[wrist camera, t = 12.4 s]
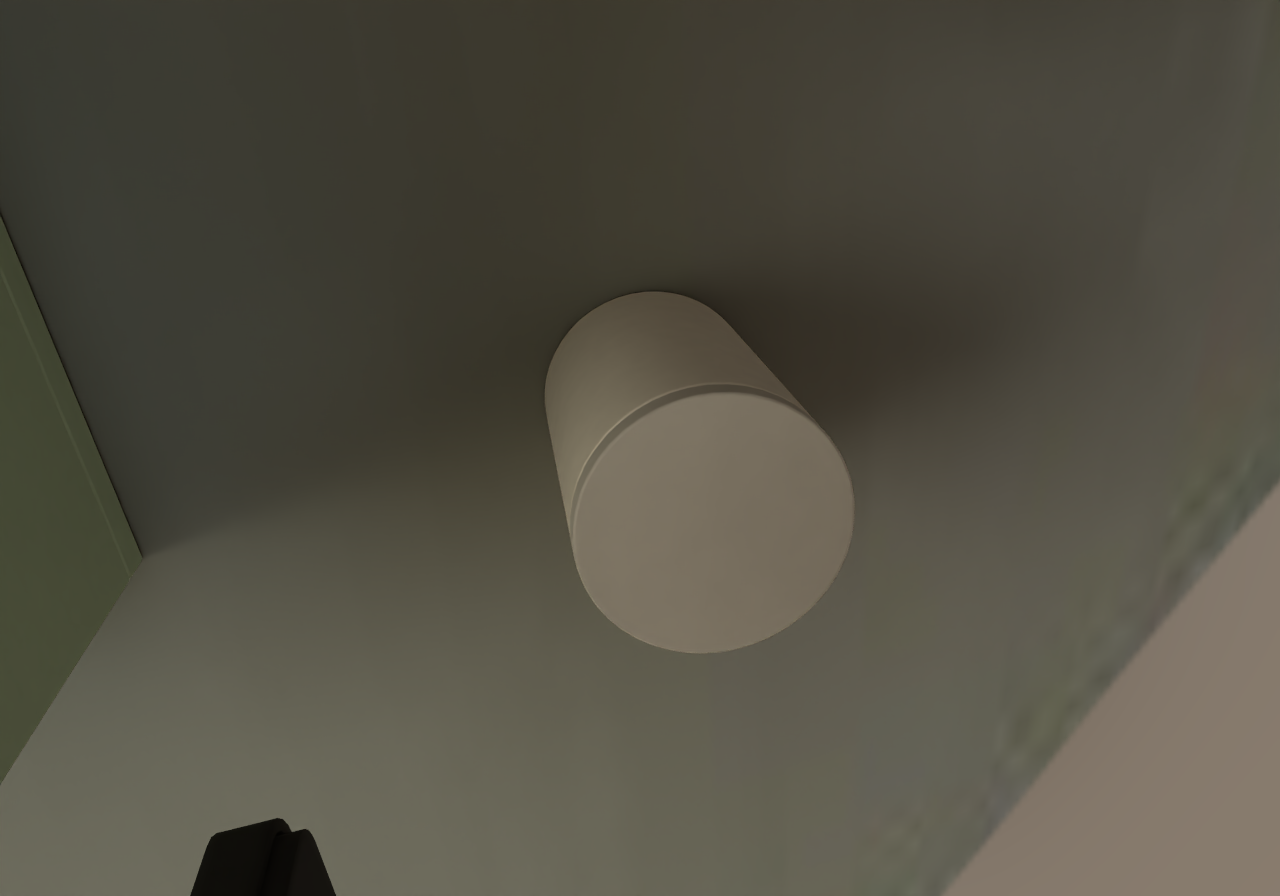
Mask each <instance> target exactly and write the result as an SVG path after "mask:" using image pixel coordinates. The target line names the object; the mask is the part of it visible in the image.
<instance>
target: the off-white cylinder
mask: <svg viewBox="0 0 1280 896" xmlns="http://www.w3.org/2000/svg"><path fill="white" fill-rule="evenodd" d="M545 409H546V415H547V421H548V426H549V431H550V436H551V441H552V447H553V452H554V457H555V462H556V467H557V472H558V477H559V483H560V488H561V493H562V498H563V503H564V508H565V513H566V518H567V524H568V529H569V534H570V539H571V544H572V549H573V554H574V559H575V563H576V567H577V570H578V573H579V576H580V579H581V581H582V583H583V585H584V587H585V589H586V591H587V593H588V594H589V596H590V597H591V599H592V600H593V602H594V603H595V605H596V606H597V607H598V608H599V609H600V610H601V611H602V613H603V614H604V615H605V616H606V617H607V618H608V619H609V620H610V621H612V622H613V623H614V624H615V625H617V626H618V627H619V628H620V629H622V630H623V631H625V632H627V633H628V634H630V635H632V636H633V637H635V638H637V639H639V640H641V641H644V642H646V643H648V644H650V645H653V646H657V647H660V648H663V649H667V650H672V651H678V652H684V653H716V652H724V651H729V650H735V649H739V648H742V647H745V646H749V645H752V644H755V643H757V642H760V641H762V640H764V639H767V638H769V637H771V636H773V635H775V634H777V633H778V632H780V631H782V630H784V629H785V628H787V627H788V626H790V625H791V624H792V623H794V622H795V621H797V620H798V619H799V618H801V617H802V616H803V615H804V614H805V613H806V612H807V611H809V610H810V609H811V608H812V607H813V606H814V605H815V604H816V603H817V602H818V600H819V599H820V598H821V597H822V596H823V595H824V594H825V592H826V591H827V589H828V588H829V587H830V585H831V584H832V582H833V581H834V579H835V578H836V576H837V574H838V572H839V570H840V568H841V566H842V565H843V562H844V560H845V557H846V555H847V552H848V549H849V546H850V542H851V538H852V534H853V528H854V518H855V500H854V492H853V486H852V481H851V477H850V475H849V472H848V469H847V466H846V463H845V461H844V459H843V457H842V456H841V454H840V452H839V450H838V448H837V447H836V445H835V444H834V443H833V441H832V440H831V438H830V437H829V436H828V435H827V433H826V432H825V431H824V430H823V429H822V428H821V427H820V426H819V424H818V423H817V422H816V421H815V420H814V419H813V418H812V417H811V416H810V414H809V413H808V412H807V411H806V410H805V409H804V408H803V407H802V405H801V404H800V403H799V402H798V401H797V400H796V399H795V398H794V397H793V395H792V394H791V393H790V392H789V391H788V390H787V389H786V388H785V386H784V385H783V384H782V383H781V382H780V381H779V380H778V379H777V378H776V376H775V375H774V374H773V373H772V372H771V371H770V370H769V369H768V367H767V366H766V365H765V364H764V363H763V362H762V361H761V360H760V359H759V357H758V356H757V355H756V354H755V353H754V352H753V351H752V350H751V348H750V347H749V346H748V345H747V344H746V343H745V342H744V341H743V340H742V338H741V337H740V336H739V335H738V334H737V333H736V332H735V331H734V329H733V328H732V327H731V326H730V325H729V324H728V323H727V322H726V321H725V320H724V319H723V318H722V317H721V316H720V315H719V314H717V313H716V312H715V311H713V310H712V309H711V308H709V307H707V306H706V305H704V304H702V303H700V302H699V301H696V300H694V299H691V298H689V297H686V296H682V295H678V294H674V293H667V292H640V293H633V294H629V295H625V296H622V297H618V298H615V299H613V300H611V301H608V302H606V303H604V304H602V305H600V306H599V307H597V308H595V309H594V310H592V311H591V312H589V313H588V314H587V315H585V316H584V317H583V318H582V319H580V320H579V321H578V322H577V323H576V324H575V325H574V326H573V327H572V328H571V329H570V331H569V332H568V333H567V334H566V336H565V337H564V338H563V340H562V341H561V343H560V345H559V346H558V348H557V350H556V352H555V354H554V356H553V358H552V361H551V363H550V366H549V370H548V374H547V377H546V385H545Z"/></svg>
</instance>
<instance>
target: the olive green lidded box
mask: <svg viewBox="0 0 1280 896" xmlns="http://www.w3.org/2000/svg"><path fill="white" fill-rule="evenodd" d="M141 561H142V556H141V554H140V551H139V549H138V547H137V544H136V542H135V539H134V537H133V535H132V532H131V530H130V527H129V525H128V522H127V520H126V518H125V515H124V513H123V510H122V508H121V506H120V503H119V501H118V498H117V496H116V494H115V491H114V489H113V486H112V484H111V481H110V479H109V477H108V474H107V472H106V469H105V467H104V465H103V462H102V460H101V457H100V455H99V453H98V450H97V448H96V445H95V443H94V440H93V438H92V436H91V433H90V431H89V428H88V426H87V424H86V421H85V419H84V416H83V414H82V411H81V409H80V407H79V404H78V402H77V399H76V397H75V395H74V392H73V390H72V387H71V385H70V383H69V380H68V378H67V375H66V373H65V370H64V368H63V366H62V363H61V361H60V358H59V356H58V354H57V351H56V349H55V346H54V344H53V342H52V339H51V337H50V334H49V332H48V329H47V327H46V325H45V322H44V320H43V317H42V315H41V313H40V310H39V308H38V305H37V303H36V301H35V298H34V296H33V293H32V291H31V288H30V286H29V284H28V281H27V279H26V276H25V274H24V272H23V269H22V267H21V264H20V262H19V260H18V257H17V255H16V252H15V250H14V247H13V245H12V243H11V240H10V238H9V235H8V233H7V231H6V228H5V226H4V223H3V221H2V219H1V216H0V784H1V782H2V781H3V779H4V778H5V776H6V775H7V773H8V771H9V770H10V768H11V767H12V765H13V763H14V762H15V760H16V759H17V757H18V756H19V754H20V752H21V751H22V749H23V748H24V746H25V745H26V743H27V741H28V740H29V738H30V737H31V735H32V734H33V732H34V730H35V729H36V727H37V726H38V724H39V722H40V721H41V719H42V718H43V716H44V715H45V713H46V711H47V710H48V708H49V707H50V705H51V704H52V702H53V700H54V699H55V697H56V696H57V694H58V692H59V691H60V689H61V688H62V686H63V685H64V683H65V681H66V680H67V678H68V677H69V675H70V674H71V672H72V670H73V669H74V667H75V666H76V664H77V662H78V661H79V659H80V658H81V656H82V655H83V653H84V651H85V650H86V648H87V647H88V645H89V644H90V642H91V640H92V639H93V637H94V636H95V634H96V632H97V631H98V629H99V628H100V626H101V625H102V623H103V621H104V620H105V618H106V617H107V615H108V614H109V612H110V610H111V609H112V607H113V606H114V604H115V603H116V601H117V599H118V598H119V596H120V595H121V593H122V591H123V590H124V588H125V587H126V585H127V584H128V582H129V578H131V577H132V575H133V574H134V572H135V571H136V569H137V567H138V566H139V564H140V563H141Z"/></svg>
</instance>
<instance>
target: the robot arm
mask: <svg viewBox="0 0 1280 896" xmlns="http://www.w3.org/2000/svg"><path fill="white" fill-rule="evenodd" d="M190 896H336V894H335V892H334V889H333V887H332V884H331V881H330V879H329V876H328V873H327V871H326V868H325V866H324V863H323V860H322V858H321V855H320V852H319V850H318V847H317V845H316V842H315V840H314V838H313V836H312V834H311V833H310V831H309V830H306V829H303V830H299V831H295V832H291V830H290V828H289V826H288V824H287V823H286V822H285V821H284V820H283V819H280V818H276V819H272V820H268V821H264V822H260V823H256V824H252V825H248V826H244V827H240V828H236V829H232V830H228V831H224V832H220V833H216V834H215V835H214V836H212V837H211V839H210V841H209V843H208V845H207V848H206V851H205V854H204V857H203V859H202V862H201V865H200V868H199V871H198V874H197V877H196V880H195V883H194V886H193V889H192V892H191V895H190Z"/></svg>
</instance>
